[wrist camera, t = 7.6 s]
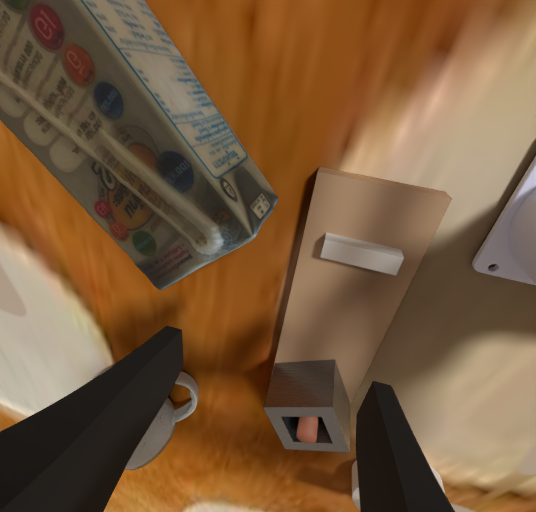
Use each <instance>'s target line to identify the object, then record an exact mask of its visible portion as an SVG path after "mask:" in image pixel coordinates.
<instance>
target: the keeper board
mask: <svg viewBox="0 0 536 512" xmlns="http://www.w3.org/2000/svg"><path fill="white" fill-rule="evenodd" d="M451 200H452V198H451V197H450V196H449V195H448V194H447V193H446V192H443V191H438V190H433V189H428V188H423V187H418V186H413V185H408V184H403V183H398V182H393V181H388V180H383V179H378V178H373V177H368V176H363V175H358V174H353V173H348V172H343V171H338V170H333V169H328V168H323V167H319V170H318V172H317V177H316V181H315V186H314V190H313V195H312V199H311V203H310V208H309V212H308V217H307V221H306V225H305V230H304V234H303V239H302V243H301V247H300V252H299V256H298V261H297V265H296V270H295V274H294V278H293V283H292V287H291V292H290V296H289V300H288V305H287V309H286V314H285V318H284V323H283V327H282V331H281V336H280V340H279V345H278V349H277V353H276V358H275V362H274V366H275V363H283V362H299V361H315V360H331V359H335V360H336V363H337V366H338V369H339V372H340V375H341V378H342V380H343V383H344V386H345V389H346V392H347V395H348V398H349V401H350V405H351V403H352V401H353V399H354V397H355V395H356V393H357V391H358V389H359V387H360V385H361V383H362V381H363V379H364V377H365V375H366V373H367V371H368V369H369V367H370V365H371V363H372V360H373V358H374V356H375V354H376V352H377V350H378V348H379V346H380V344H381V342H382V340H383V338H384V336H385V334H386V332H387V330H388V328H389V326H390V324H391V322H392V320H393V318H394V316H395V314H396V312H397V310H398V308H399V306H400V304H401V301H402V299H403V297H404V295H405V293H406V291H407V289H408V287H409V285H410V283H411V281H412V279H413V277H414V275H415V273H416V271H417V269H418V267H419V265H420V263H421V261H422V259H423V257H424V255H425V253H426V251H427V249H428V247H429V244H430V242H431V240H432V238H433V236H434V234H435V232H436V230H437V228H438V226H439V224H440V222H441V220H442V218H443V216H444V214H445V212H446V210H447V208H448V206H449V204H450V202H451ZM273 369H274V367H273ZM272 373H273V371H272ZM271 377H272V376H271ZM317 428H318V417H299V422H298V429H297V435H296V436H297V438H298V439H299V440H300V441H301V442H304V443H307V444H312V443H315V442H316V439H317Z"/></svg>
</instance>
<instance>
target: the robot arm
mask: <svg viewBox="0 0 536 512" xmlns="http://www.w3.org/2000/svg"><path fill="white" fill-rule="evenodd" d="M491 264H496V265H495V266H494V267H493V268H488V267H489V266H490V265H491ZM472 266H473V268H474V269H475V270H476V271H477V272H480V273H484V274H489V275H493V276H497V277H502V278H506V279H510V280H515V281H519V282H523V283H528V284H532V285H536V156H535V158H534V160H533V161H532V163H531V165H530V166H529V168H528V170H527V171H526V173H525V175H524V176H523V178H522V180H521V181H520V183H519V185H518V186H517V188H516V190H515V191H514V193H513V194H512V196H511V198H510V199H509V201H508V203H507V204H506V206H505V208H504V209H503V211H502V213H501V214H500V216H499V218H498V219H497V221H496V223H495V224H494V226H493V228H492V229H491V231H490V233H489V234H488V236H487V238H486V239H485V241H484V243H483V244H482V246H481V248H480V249H479V251H478V253H477V254H476V256H475V258H474V259H473V261H472ZM182 367H183V346H182V330H180V329H177V328H173V327H169V326H166V327H165V328H163V329H162V330H161V331H159V332H158V333H157V334H155V335H154V336H153V337H151V338H150V339H149V340H148V341H146V342H145V343H144V344H142V345H141V346H140V347H138V348H137V349H136V350H134V351H133V352H132V353H130V354H129V355H127V356H126V357H125V358H123V359H122V360H120V361H119V362H118V363H116V364H115V365H114V366H112V367H111V368H109V369H108V370H106V371H105V372H103V373H102V374H100V375H99V376H97V377H96V378H94V379H93V380H91V381H90V382H88V383H87V384H85V385H84V386H82V387H80V388H79V389H77V390H76V391H74V392H72V393H71V394H69V395H67V396H66V397H64V398H62V399H60V400H59V401H57V402H55V403H54V404H52V405H50V406H48V407H47V408H45V409H43V410H41V411H39V412H37V413H35V414H34V415H32V416H30V417H28V418H26V419H24V420H22V421H20V422H18V423H17V424H15V425H13V426H11V427H9V428H7V429H5V430H3V431H0V512H103V511H104V509H105V507H106V505H107V503H108V501H109V499H110V497H111V495H112V493H113V491H114V489H115V487H116V485H117V483H118V481H119V479H120V477H121V475H122V473H123V471H124V469H125V467H126V465H127V463H128V462H129V460H130V458H131V456H132V455H133V453H134V451H135V449H136V448H137V446H138V444H139V443H140V441H141V440H142V438H143V436H144V435H145V433H146V431H147V430H148V428H149V427H150V425H151V423H152V422H153V420H154V419H155V417H156V415H157V414H158V412H159V410H160V409H161V407H162V406H163V404H164V402H165V401H166V399H167V397H168V396H169V394H170V392H171V391H172V389H173V386H174V384H175V382H176V380H177V378H178V376H179V374H180V372H181V370H182ZM356 456H357V470H358V484H359V497H360V510H361V512H455V511H454V509H453V508H452V506H451V504H450V502H449V501H448V499H447V497H446V495H445V493H444V492H443V490H442V488H441V486H440V484H439V483H438V481H437V479H436V477H435V475H434V473H433V472H432V470H431V468H430V466H429V464H428V462H427V460H426V458H425V456H424V454H423V452H422V450H421V448H420V446H419V444H418V442H417V440H416V438H415V436H414V434H413V432H412V430H411V428H410V426H409V423H408V421H407V419H406V417H405V415H404V413H403V410H402V408H401V406H400V404H399V401H398V399H397V397H396V395H395V392H394V390H393V388H392V386H391V385H387V384H383V383H379V382H376V381H373V382H372V384H371V386H370V388H369V390H368V392H367V394H366V396H365V399H364V401H363V403H362V405H361V407H360V409H359V411H358V413H357V423H356Z"/></svg>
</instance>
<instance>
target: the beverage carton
mask: <svg viewBox="0 0 536 512" xmlns="http://www.w3.org/2000/svg"><path fill="white" fill-rule="evenodd" d="M0 120H1V121H2V122H3V123H4V124H5V125H6V126H7V128H9V129H10V130H11V131H12V132H13V133H14V134H15V136H16V137H17V138H18V139H19V140H20V141H21V142H22V143H23V144H24V145H25V146H26V147H27V148H28V149H29V150H30V151H31V152H32V153H33V154H34V155H35V156H36V157H37V158H38V159H39V160H40V162H41V163H42V164H43V165H44V166H45V167H46V168H47V169H48V170H49V172H50V173H51V174H52V175H53V176H54V177H55V178H56V179H57V180H58V181H59V182H60V183H61V184H62V185H63V186H64V188H65V189H66V190H67V191H68V192H69V193H70V194H71V195H72V196H73V197H74V198H75V199H76V200H77V201H78V203H79V204H80V205H81V206H82V207H83V208H84V209H85V210H86V211H87V213H88V214H89V215H90V216H91V217H92V218H93V219H94V220H95V221H96V222H97V223H98V224H99V225H100V226H101V227H102V228H103V229H104V230H105V231H106V232H107V233H108V234H109V235H110V237H111V238H112V239H113V240H114V241H115V242H116V243H117V244H118V245H119V246H120V248H121V249H122V250H124V251H125V252H126V253H127V254H128V255H129V257H130V258H131V259H132V260H133V262H134V263H135V265H136V266H137V267H138V268H139V269H140V270H141V271H142V272H143V273H144V274H145V275H146V276H147V277H148V279H149V280H150V281H151V282H152V284H153V285H154V286H155V287H156V288H158V289H159V290H163V289H165V288H167V287H169V286H170V285H172V284H174V283H176V282H177V281H179V280H181V279H183V278H184V277H186V276H188V275H189V274H191V273H193V272H194V271H196V270H198V269H199V268H201V267H203V266H205V265H207V264H209V263H211V262H213V261H215V260H217V259H219V258H220V257H222V256H224V255H226V254H228V253H230V252H232V251H234V250H236V249H238V248H240V247H241V246H243V245H245V244H246V243H248V242H250V241H251V240H252V239H254V238H255V237H256V236H257V233H258V231H259V230H260V227H261V225H262V223H263V222H264V221H265V220H266V219H267V218H268V217H269V215H270V214H271V213H272V211H273V209H274V206H275V204H276V203H277V201H278V197H277V195H276V194H275V192H274V191H273V189H272V188H271V186H270V185H269V183H268V182H267V180H266V179H265V177H264V176H263V174H262V173H261V172H260V170H259V169H258V168H257V166H256V165H255V163H254V162H253V160H252V159H251V157H250V156H249V154H248V153H247V151H246V150H245V149H244V147H243V146H242V144H241V143H240V141H239V140H238V138H237V137H236V135H235V133H234V132H233V130H232V129H231V127H230V126H229V124H228V123H227V121H226V120H225V119H224V117H223V116H222V114H221V113H220V111H219V110H218V109H217V107H216V106H215V104H214V103H213V101H212V100H211V98H210V97H209V95H208V94H207V92H206V91H205V89H204V88H203V86H202V85H201V84H200V82H199V81H198V79H197V78H196V76H195V75H194V73H193V72H192V70H191V69H190V67H189V66H188V64H187V63H186V61H185V60H184V58H183V57H182V55H181V54H180V52H179V51H178V49H177V48H176V46H175V45H174V43H173V42H172V40H171V39H170V37H169V36H168V34H167V33H166V31H165V30H164V28H163V27H162V25H161V24H160V23H159V21H158V20H157V18H156V17H155V15H154V14H153V12H152V11H151V9H150V8H149V6H148V5H147V3H146V2H145V0H0Z"/></svg>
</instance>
